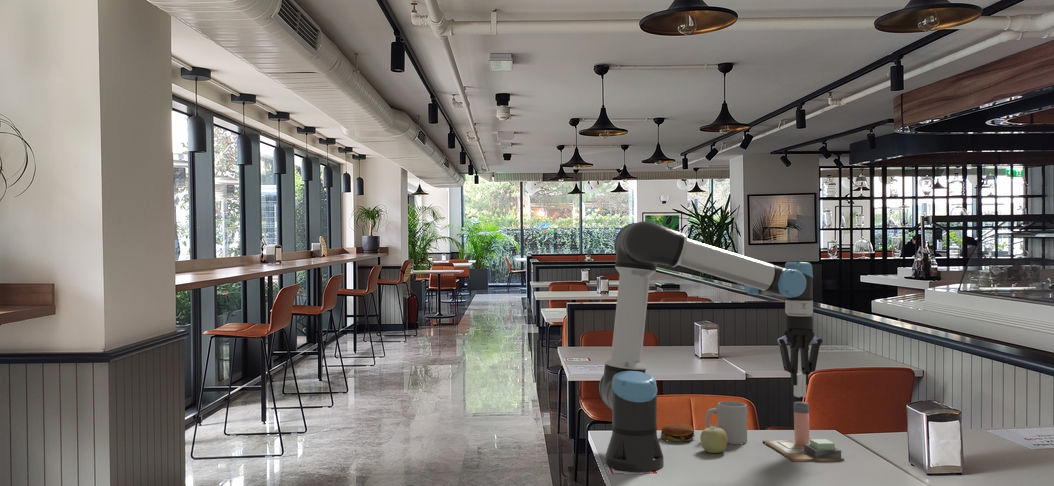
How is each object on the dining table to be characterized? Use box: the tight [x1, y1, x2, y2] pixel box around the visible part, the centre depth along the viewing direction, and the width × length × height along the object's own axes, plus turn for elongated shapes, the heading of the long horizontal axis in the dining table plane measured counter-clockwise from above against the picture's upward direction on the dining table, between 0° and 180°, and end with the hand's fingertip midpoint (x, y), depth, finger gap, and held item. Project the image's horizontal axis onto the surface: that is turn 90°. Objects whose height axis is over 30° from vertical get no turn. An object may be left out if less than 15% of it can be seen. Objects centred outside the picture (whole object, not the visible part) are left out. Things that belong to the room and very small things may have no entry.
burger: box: [660, 422, 696, 442], centre depth 212 cm, size 10×9×5 cm
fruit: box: [700, 423, 728, 454], centre depth 198 cm, size 8×7×8 cm
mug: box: [705, 400, 748, 445], centre depth 211 cm, size 12×8×11 cm
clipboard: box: [762, 439, 845, 463], centre depth 199 cm, size 14×20×3 cm
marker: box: [793, 401, 811, 447], centre depth 203 cm, size 4×4×12 cm
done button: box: [810, 438, 836, 450], centre depth 193 cm, size 5×5×2 cm
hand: (799, 396), depth 204 cm, fingers closed
